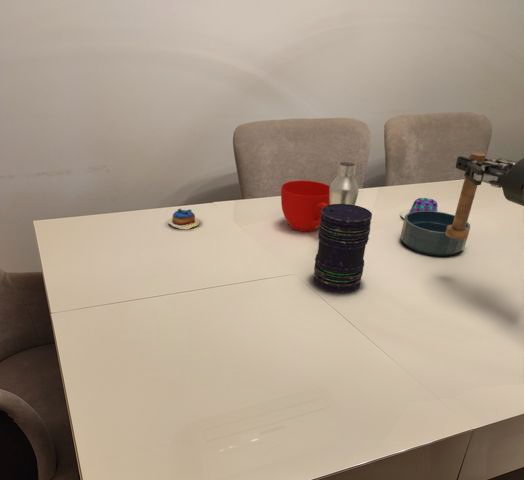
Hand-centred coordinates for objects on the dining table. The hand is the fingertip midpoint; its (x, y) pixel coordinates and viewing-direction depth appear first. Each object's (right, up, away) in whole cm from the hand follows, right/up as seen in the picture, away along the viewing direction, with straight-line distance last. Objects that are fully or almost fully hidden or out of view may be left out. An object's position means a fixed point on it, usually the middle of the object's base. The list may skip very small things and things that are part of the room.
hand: (464, 161), depth 97 cm
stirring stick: (+1, -13, +6) cm, 14 cm away
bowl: (+3, -11, +27) cm, 29 cm away
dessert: (-59, -5, +31) cm, 67 cm away
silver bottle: (-22, -14, +20) cm, 33 cm away
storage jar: (-24, -23, +7) cm, 34 cm away
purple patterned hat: (+5, -1, +42) cm, 42 cm away
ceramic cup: (-28, -6, +31) cm, 42 cm away
